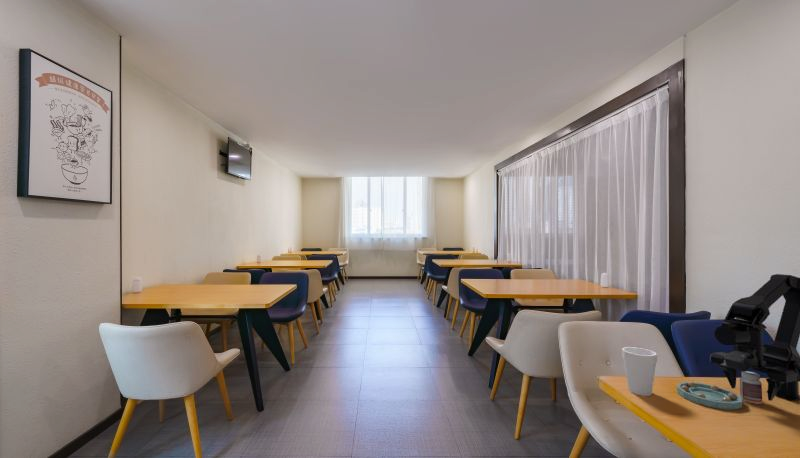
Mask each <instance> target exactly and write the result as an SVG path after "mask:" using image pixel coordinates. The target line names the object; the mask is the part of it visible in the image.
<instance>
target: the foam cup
mask: <svg viewBox="0 0 800 458" xmlns="http://www.w3.org/2000/svg"><path fill="white" fill-rule="evenodd" d="M621 356H622V358H623V366H624V371H625V372H624V373H625V376H626V377H625V378H626V383H627V388H628V389H627V390H628V391H629V392H630V393H632V394H635V395H639V396H645V397H647V396H648V397H649V396H651V395H652V393H653V388H654V380H655V373H656V366H657V363H658V355H657V352H655V351H653V350H650V349H646V348H641V347H635V346H625V347H621Z"/></svg>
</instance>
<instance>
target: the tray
mask: <svg viewBox="0 0 800 458" xmlns="http://www.w3.org/2000/svg"><path fill="white" fill-rule="evenodd" d="M676 391H677V394H678V395H679V396H680V397H681V398H684V399H685V400H687V401H690V402H692V403H695V404H697V405H701V406H704V407H709V408H712V409H718V410H725V411H726V410H727V411H735V410H740V409H742V408H743V400H742V398H741V396H740V395H739V394H737V393H735V392H734V391H732V390H728V389H726V388H723V387H719V386H717V385H715V384H707V383H702V382H694V381H683V382H678V383H677V387H676Z"/></svg>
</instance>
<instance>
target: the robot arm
mask: <svg viewBox="0 0 800 458" xmlns="http://www.w3.org/2000/svg"><path fill="white" fill-rule="evenodd" d="M782 297H783V299H784V301H785V302H784V305H783V309H782V312H781V315H780V319H779V322H778V327H777V330H776V333H775V338H774V340H773V341H772V342H771V343H764V342H763V341H764V340H763V339H764V338H763V337H764V336H763V330H765V329H767V326H766V325H765V324H764V322H765V321H766V320H767V319H768V317H769V316H770V315H771V312H770V308H771V307H772V305H774V304H775V302H777V301H778V300H779V299H780V298H782ZM714 337H715V339H716V340H717V342H719V343H720V344H722V345H724V346H733V350H732V351H730V352H728V353H727V352H724V351H717V352H712V353H710V355H709V361H710V362H711V363H715V364H714V365H715V366H717V367H719V368H720V369H721V370H722V371H723V374H724V375H725V377H726V379H727V381H728V383H729V385H730V387H731V388H732V389H736V386H737V371H738V372H742V371H748V370H749V369H750V370H752V371H756V372H760V373H764V374H766V376H767V378H765V380H766V382H767V390H766V393H767V400H768V401H771V402H772V401H773V400H774V398H775V396H776V397H780V398H783V399H786V400H790V401H793V402H795V401H799V400H800V389H799V388H800V386H799V383H800V353H799V351H798V349H797V347H798V343H799V339H800V277H797V276H795V275H791V274H781V273H780V274H779V273H776V274H772V275H771V276H770V277H769V280H767V282H765V283H764V284H763V285H762V286H761V287H760V288H758V290H756V291H755V292H754V293H753V294H752V295H750V296H746V297H741V298H739V299H738V300H735V301H734V302H733V303H732V304H731V306H730V307H729V310H728V312H727V313H726V314H725V318H724V319H723V321H722V322H721V325H719V326H718V327H716V329H714Z"/></svg>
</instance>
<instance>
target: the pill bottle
mask: <svg viewBox="0 0 800 458" xmlns="http://www.w3.org/2000/svg"><path fill="white" fill-rule="evenodd" d="M740 372H741V373H740V374H741V377H740V378H739V391H740V392H739V393H740V395H739V396H740V397H741V398H742V401H744V402H747V403H750V404H755V405H761V404H762V403H763V384H762V382H761V380H760V379H761V378H760V377H761V375H760V374H758V373H756V372H753V371H748V370H747V371H740Z"/></svg>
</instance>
